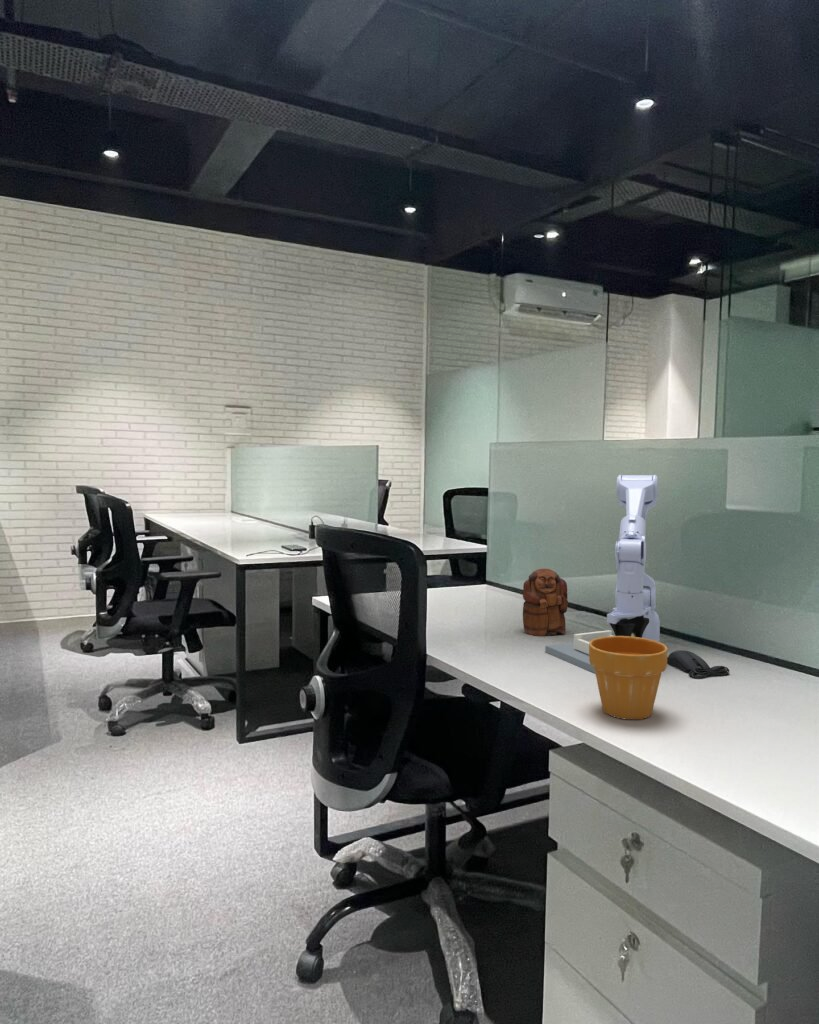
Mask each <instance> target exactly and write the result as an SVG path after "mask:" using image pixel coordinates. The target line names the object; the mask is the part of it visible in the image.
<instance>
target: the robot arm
mask: <svg viewBox="0 0 819 1024" xmlns="http://www.w3.org/2000/svg"><path fill="white" fill-rule="evenodd" d="M658 489H659V477H658V475H657V474H653V475H652V474H651V475H650V474H642V475H641V474H628V475H627V474H618V475H617V477H616V489H615V490H616V497H617V503H618V504H619V507H621V508H624V509H625V510H626V511H625V513H626V515H625V516H623V517H622V518H621V520H620V524H619V532H618V534H619V535H618V540H616V542H615V548H614V549H615V550H614V556H615V557H614V558H615V565H616V567H615V569H616V570H615V571H616V572H617V575H616V577H617V578H616V586H615V596H614V597H615V598H614V600H615V607H613V608H612V612H609V613H606V623H609V626H610V627H611V629H612V632H613V633H614V636H630V637H631V634H632V631H634V632H635V637H639V638H645V639H650V640H654V641H657V642H660V635H661V634H660V633H661V632H660V631H661V628H660V627H661V625H660V624H661V621H660V616H659V614H658V613H657V612H656V611H655V610H656V607H657V606H656V603H657V602H656V601H657V587H656V581H655V579H654V578H653V577H652V576H650V575H648V574H647V573H646V571H645V570H646V559H647V543H646V539H647V538H646V533H647V515H648V514H649V510H651V509H653V508H656V507H657V504H658V491H659V490H658Z"/></svg>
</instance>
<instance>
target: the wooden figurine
mask: <svg viewBox="0 0 819 1024" xmlns="http://www.w3.org/2000/svg"><path fill="white" fill-rule="evenodd" d="M567 584H568V583H567V581H566V580H564V579H563V578H561V577H560V576H559V574H557V572H556V571H554V570H553V569H549V568H539V569H535V570H534V571H533V572H531V574H529V575H528V578H527V580H525V581H524V582H523V591H522V597H523V598H522V599H523V603H522V623H523V624H522V625H523V630H524V633H525V634H526V635H530V636H537V637H546V636H557V635H566V630H567V629H566V627H567V626H566V617H565V613H567V611H568V605H569V604H568V603H569V601H568V585H567Z"/></svg>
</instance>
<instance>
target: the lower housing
mask: <svg viewBox="0 0 819 1024" xmlns="http://www.w3.org/2000/svg"><path fill="white" fill-rule="evenodd" d="M607 636H614V635H613V630H611V629H610V630H609V629H607V630H597V631H591V632H583V633H573V642H574V649H576V650H579V651H581V652H584V653H586V654H589V643H590V641H592V640H593V639H596V638H600V637H607Z"/></svg>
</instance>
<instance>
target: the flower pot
mask: <svg viewBox="0 0 819 1024" xmlns="http://www.w3.org/2000/svg"><path fill="white" fill-rule="evenodd" d="M668 651H669V649H668V647H667V646H666V644H665V643H663V642H661V641H659V642H657V641H654V640H650V639H645V638H639V637H630V636H615V635H613V636H607V637H600V638H596V639H593V640H592V641H590V643H589V661H590V664H591V665H592V666H593V667H594V669H595V673H596V674H595V673H594V674H595V677H596V682H597V683H596V685H597V687H598V693H599V698H600V702H601V703H600V704H601V707H602V710H603V712H604V713H605V714H606V713H607V714H606V715H608V714H609V715H608V716H610V715H612V716H615V717H619V718H625V719H624V720H626V719H632V720H634V719H640V720H644V719H643V718H645V719H647V717H648V718H649V717H650V716H652V714H653V710H654V705H655V703H656V702H655V701H656V697H657V693H658V689H659V686H660V681H661V676H662V673H663V672H664V671H666V670H667V667H668V664H667V657H668V655H669V654H668ZM612 716H611V717H612ZM615 717H614V718H615ZM619 718H618V719H619Z"/></svg>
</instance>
